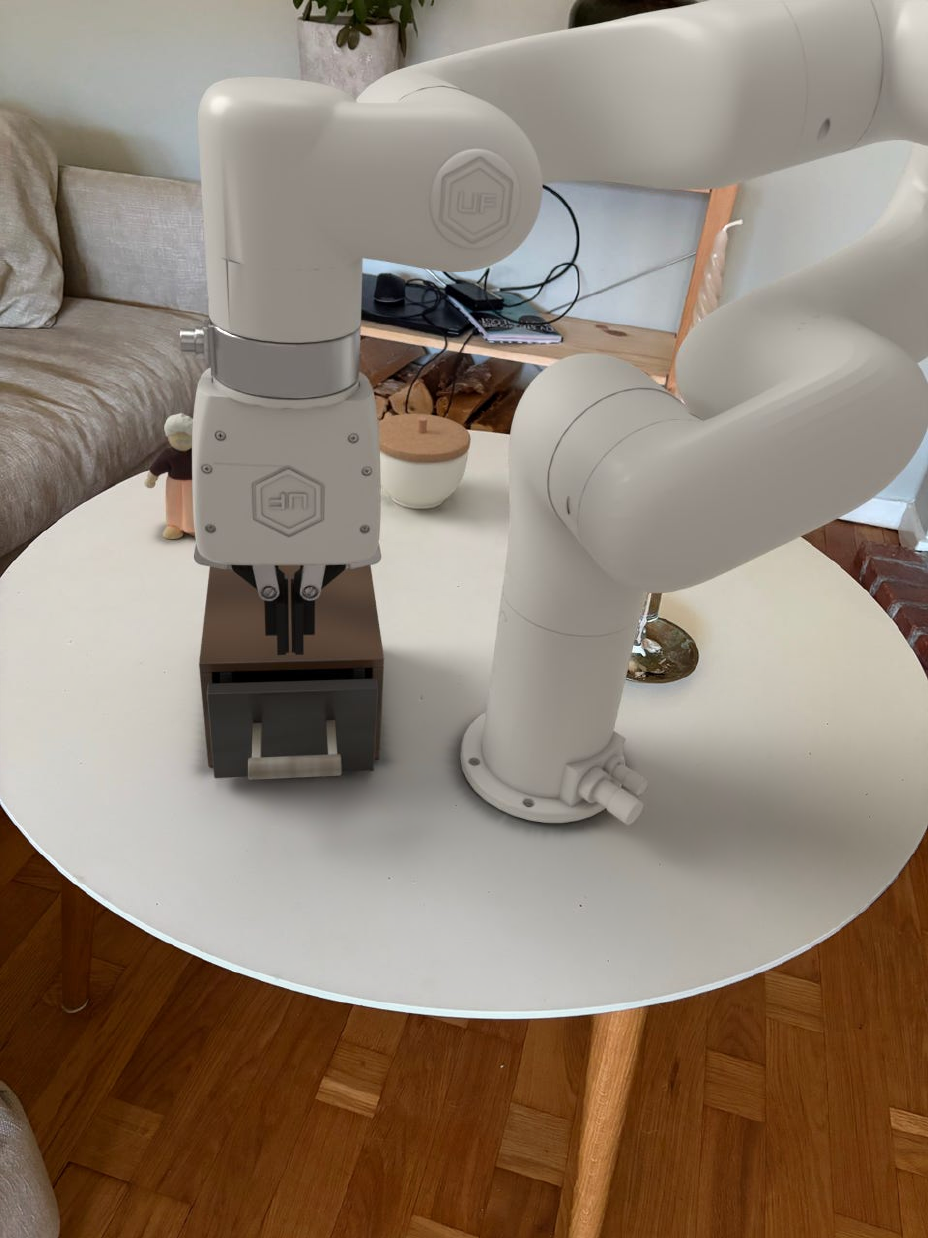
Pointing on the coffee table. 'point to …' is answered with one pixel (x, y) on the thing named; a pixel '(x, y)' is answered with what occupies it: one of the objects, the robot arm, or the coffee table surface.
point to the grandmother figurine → (176, 476)
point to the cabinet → (290, 633)
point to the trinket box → (421, 458)
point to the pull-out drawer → (292, 723)
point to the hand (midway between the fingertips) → (290, 641)
